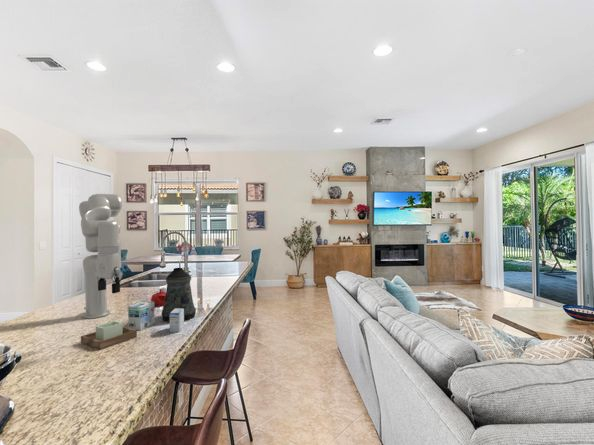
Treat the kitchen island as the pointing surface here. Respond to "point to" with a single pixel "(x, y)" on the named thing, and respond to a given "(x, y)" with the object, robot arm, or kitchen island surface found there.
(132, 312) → the light bulb box
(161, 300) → the pomegranate
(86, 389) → the kitchen island surface
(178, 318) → the medicine box
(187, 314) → the beer stein
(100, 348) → the crate
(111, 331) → the small crate
